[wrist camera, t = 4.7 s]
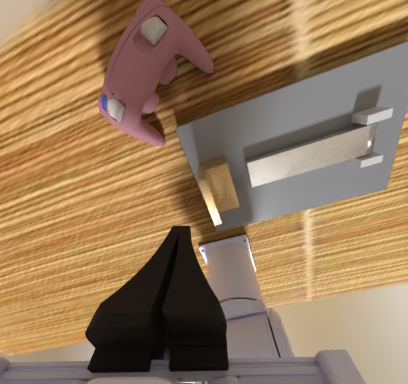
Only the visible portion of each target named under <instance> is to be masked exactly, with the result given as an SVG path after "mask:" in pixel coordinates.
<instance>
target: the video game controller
mask: <svg viewBox="0 0 408 384" xmlns="http://www.w3.org/2000/svg"><path fill="white" fill-rule="evenodd" d="M176 54H179V55H181V56H183V57H185V58H187V59H188V60H189V61H190V62H192V63H193V64H194V65H195V66H197V67H198V68H199V69H201V70H202V71H204V72H206V73H212V72H213V71H214V64H213V60H212V58H211V56H210V55H209V53H208V52H207V50H206V49H205V48H204V46H203V45H202V43H201V42H200V40H199V39H198V38H197V36H196V35H195V33H194V32H193V31H192V30H191V28H190V27H189V26H188V25H187V24H186V23H185V22H184V21H183V20H182V19H181V18H180V17H179V15H178V14H177V13H176V12H175V11H174V10H173V9H172V8H170V7H169V6H168V5H167V4H165V3H164V2H163V1H161V0H144V1H143V2H142V3H141V4H140V5H139V7H138V8H137V10H136V13H135V16H134V19H133V21H132V22H131V23H130V24H129V25H128V27H127V28H126V30H125V31H124V33H123V34H122V36H121V38H120V39H119V41H118V43H117V45H116V47H115V49H114V51H113V54H112V56H111V59H110V62H109V65H108V67H107V71H106V75H105V79H104V84H103V91H102V93H101V95H100V97H99V100H98V107H99V110H100V112H101V114H102V115H103V116H104V117H105V118H106V119H107V120H108V121H109V122H110V123H111V124H112V125H113V126H115V127H116V128H118V129H120V130H122V131H123V132H125V133H127V134H129V135H131V136H133V137H135V138H138V139H140V140H142V141H145V142H147V143H149V144H152V145H155V146H163V145H165V143H166V141H165V139H164V137H163V136H162V135H161V134H160V133H159V132H158V131H157V130H156V129H155V128H154V127H152V126H151V125H150V124H149V123H147V122H146V121H144V120H143V119H142V118H141V115H144V114H149V113H152V112H153V111H154V110H155V109H156V108H157V106H158V103H159V96H158V94H157V93H156V92H155V90H156V87H157V85H158V82H160V83H161V84H163V85H166V84H168V83H169V82H171V81H172V79H173V78H174V77H175V74H176V72H177V63H176V59H175V55H176Z"/></svg>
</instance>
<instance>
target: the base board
mask: <svg viewBox="0 0 408 384" xmlns="http://www.w3.org/2000/svg"><path fill="white" fill-rule="evenodd" d="M407 105H408V41H404V42H402V43H399V44H396V45H394V46H391V47H388V48H385V49H383V50H380V51H377V52H375V53H372V54H369V55H367V56H364V57H361V58H359V59H356V60H353V61H351V62H348V63H345V64H343V65H340V66H337V67H334V68H332V69H329V70H326V71H324V72H321V73H318V74H316V75H313V76H310V77H308V78H305V79H302V80H300V81H297V82H294V83H292V84H289V85H286V86H283V87H281V88H278V89H275V90H273V91H270V92H267V93H265V94H262V95H259V96H257V97H254V98H251V99H249V100H246V101H243V102H241V103H238V104H235V105H232V106H230V107H227V108H224V109H222V110H219V111H216V112H214V113H211V114H208V115H206V116H203V117H200V118H198V119H195V120H192V121H190V122H187V123H184V124H182V125H179V126H177V127H176V128H175V129H176V132H177V134H178V137H179V139H180V142H181V144H182V147H183V149H184V152H185V154H186V157H187V159H188V162H189V164H190V167H191V169H192V172H193V174H194V177H195V179H196V182H197V180H198V164H199V163H202V162H206V161H209V160H212V159H215V158H218V157H221V156H225V159H226V161H227V164H228V168H229V171H230V175H231V178H232V182H233V185H234V189H235V193H236V196H237V200H238V203H239V207H237V208H233V209H229V210H226V211H222V212H221V218H222V224H219V225H215V224H214V222H213V224H214V226H215V229H216V231H217V232H220V231H224V230H228V229H232V228H236V227H240V226H244V225H248V224H252V223H256V222H260V221H264V220H267V219H271V218H275V217H279V216H283V215H287V214H291V213H295V212H299V211H303V210H307V209H311V208H315V207H319V206H323V205H326V204H330V203H334V202H338V201H342V200H346V199H350V198H354V197H358V196H362V195H366V194H370V193H374V192H378V191H382V190H385V189H387V186H388V182H389V178H390V174H391V170H392V166H393V161H394V157H395V153H396V149H397V145H398V141H399V137H400V133H401V129H402V125H403V121H404V117H405V113H406V109H407ZM375 122H378V126H377V132H376V137H375V143H374V149H373V153H372V154H369V155H364V156H361V157H357V158H353V159H350V160H346V161H343V162H339V163H336V164H332V165H329V166H325V167H322V168H318V169H315V170H311V171H308V172H304V173H301V174H297V175H294V176H290V177H287V178H283V179H280V180H276V181H273V182H269V183H266V184H262V185H259V186H255V187H252V186H251V184H250V180H249V175H248V171H247V166H246V162H245V161H247V160H250V159H253V158H256V157H259V156H263V155H266V154H269V153H272V152H275V151H279V150H282V149H285V148H288V147H291V146H295V145H298V144H301V143H304V142H307V141H311V140H314V139H317V138H320V137H323V136H327V135H330V134H333V133H336V132H339V131H343V130H346V129H349V128H352V127H355V126H359V125H362V124H364V125H368V124H372V123H375ZM197 184H198V182H197ZM198 187H199V184H198ZM199 189H200V187H199ZM200 192H201V189H200ZM201 194H202V192H201ZM202 197H203V194H202ZM203 199H204V197H203ZM204 202H205V199H204ZM205 204H206V202H205ZM206 207H207V204H206ZM207 209H208V207H207ZM208 212H209V209H208ZM209 214H210V212H209ZM210 217H211V214H210ZM211 219H212V217H211ZM212 221H213V219H212Z"/></svg>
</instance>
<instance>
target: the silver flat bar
mask: <svg viewBox="0 0 408 384" xmlns="http://www.w3.org/2000/svg"><path fill="white" fill-rule="evenodd" d="M377 126H378V122H375V123H372V124H368V125H364V124H362V125H359V126H355V127H352V128H349V129H346V130H343V131H339V132H336V133H333V134H330V135H327V136H323V137H320V138H317V139H314V140H311V141H307V142H304V143H301V144H298V145H295V146H291V147H288V148H285V149H282V150H279V151H275V152H272V153H269V154H266V155H263V156H259V157H256V158H253V159H250V160H247V161H245V162H246V166H247V171H248V175H249V180H250V184H251V186H252V187H255V186H259V185H262V184H266V183H269V182H273V181H276V180H280V179H283V178H287V177H290V176H294V175H297V174H301V173H304V172H308V171H311V170H315V169H318V168H322V167H325V166H329V165H332V164H336V163H339V162H343V161H346V160H350V159H353V158H357V157H361V156H364V155H369V154H372V153H373V149H374V143H375V137H376V132H377Z"/></svg>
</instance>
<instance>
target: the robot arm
mask: <svg viewBox="0 0 408 384" xmlns="http://www.w3.org/2000/svg"><path fill="white" fill-rule="evenodd" d="M199 250H200V252H201V254H202V256H203V258H204V260H205V262H206V264H207V275H208V282H207V280H206V278H205V276H204V274H203V272H202V270H201V268H200V265H199V263H198V261H197V258H196V255H195V252H194V249H193V246H192V242H191V231H190V226H173V227H172V228H171V230H170V232H169V234H168V235H167V237H166V238H165V240H164V241H163V243H162V244H161V246H160V247H159V248H158V250H157V251H156V252H155V254H154V255H153V256H152V257H151V259H150V260H149V261H148V262H147V263H146V264H145V265H144V267H143V268H142V269H141V270H140V271H139V272H138V273H137V274H136V275H135V276H134V277H132V278H131V279H130V280H129V281H128V282H127V283H126V284H125V285H123V286H122V287H121V288H120V289H119V290H118V291H116V292H115V293H114V294H112V295H111V296H110V297H109V298H107V299H106V300H105V301H103V302H102V303H101V304H100V306H99V307H98V309H97V310H96V312H95V314H94V316H93V318H92V320H91V322H90V324H89V326H88V328H87V330H86V332H85V335H86V337H87V339H88V340H89V341H90V343H91V344H92V345H93V346H94V347H95V348H96V349H95V351H94V354H93V356H92V358H91V360H90V361H61V362H9V360H7V359H5V358H3V357H0V384H192V383H181V382H195V384H366V383H365V382H364V380H363V378H362V376H361V375H360V373H359V371H358V369H357V368H356V366H355V364H354V362H353V361H352V359H351V357H350V355H349V354H348V352H347V351H345V350H323V351H319V352H318V353H317V354H316V356H315V357H294V354H293V351H292V348H291V346H290V343H289V340H288V337H287V335H286V332H285V329H284V326H283V324H282V321H281V318H280V316H279V314H278V313H277V312H276V311H274V310H273V309H272V308H268V309H266V306H265V304H264V301H263V297H262V294H261V291H260V287H259V284H258V281H257V277H256V274H255V272H256V267H255V263H254V260H253V256H252V252H251V249H250V245H249V242H248V238H247V236H246V235H240V236H236V237H232V238H228V239H224V240H220V241H216V242H212V243H207V244H203V245H200V246H199Z"/></svg>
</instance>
